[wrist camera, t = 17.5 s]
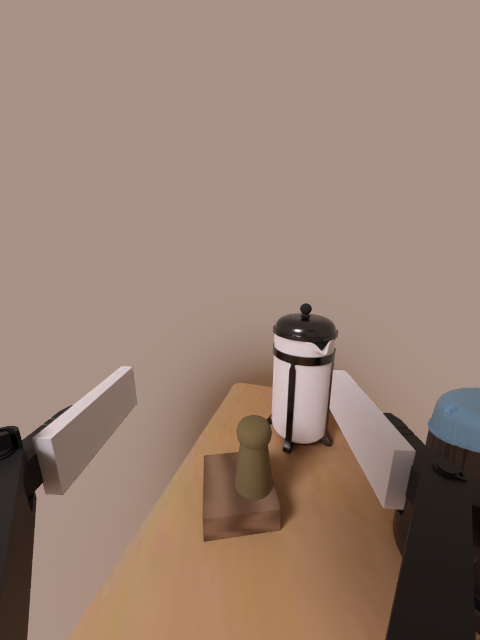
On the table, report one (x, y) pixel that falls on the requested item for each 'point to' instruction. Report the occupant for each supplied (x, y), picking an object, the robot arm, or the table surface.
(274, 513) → the walnut base
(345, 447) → the table surface
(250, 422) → the olive pawn
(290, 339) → the coffee press
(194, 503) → the table surface
